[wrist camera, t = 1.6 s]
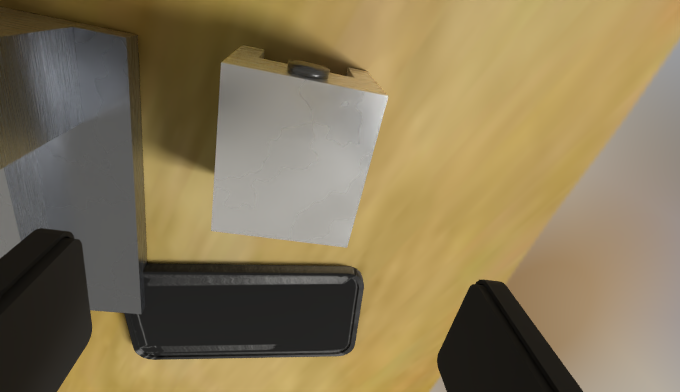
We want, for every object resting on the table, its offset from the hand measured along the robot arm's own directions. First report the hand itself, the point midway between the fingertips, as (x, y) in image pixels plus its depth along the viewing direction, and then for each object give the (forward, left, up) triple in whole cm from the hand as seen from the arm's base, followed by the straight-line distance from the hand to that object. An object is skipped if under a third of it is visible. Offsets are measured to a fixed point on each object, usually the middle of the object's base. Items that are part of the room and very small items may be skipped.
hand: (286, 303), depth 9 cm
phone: (+13, -1, -12) cm, 18 cm away
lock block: (-1, 0, -12) cm, 12 cm away
